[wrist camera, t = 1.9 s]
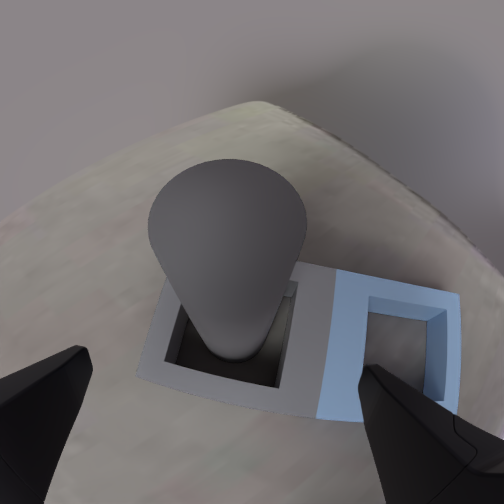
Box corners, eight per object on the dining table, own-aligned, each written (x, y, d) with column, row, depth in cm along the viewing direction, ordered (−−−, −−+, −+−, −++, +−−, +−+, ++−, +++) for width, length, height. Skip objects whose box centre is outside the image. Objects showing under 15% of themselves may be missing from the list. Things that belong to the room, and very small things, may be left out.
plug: (277, 340, 20) (338, 234, 8) (226, 374, 19) (197, 325, 6) (242, 292, 22) (247, 142, 9) (192, 323, 20) (126, 200, 8)
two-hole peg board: (439, 306, 21) (459, 294, 19) (433, 420, 17) (455, 420, 14) (187, 256, 23) (181, 237, 20) (149, 380, 18) (135, 376, 16)
